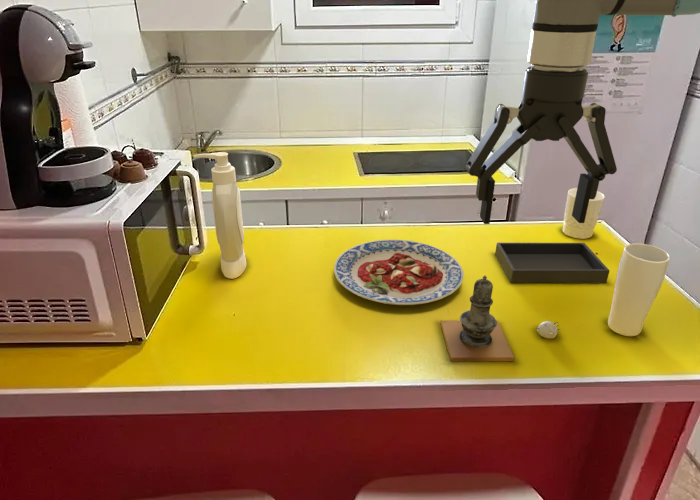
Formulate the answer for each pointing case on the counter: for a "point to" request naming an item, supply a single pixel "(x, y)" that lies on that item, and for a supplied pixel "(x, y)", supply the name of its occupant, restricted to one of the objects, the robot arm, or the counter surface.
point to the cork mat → (464, 352)
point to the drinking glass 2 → (636, 287)
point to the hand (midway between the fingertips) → (531, 220)
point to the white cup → (593, 211)
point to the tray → (550, 263)
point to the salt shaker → (479, 316)
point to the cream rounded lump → (548, 329)
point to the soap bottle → (227, 215)
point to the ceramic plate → (398, 272)
